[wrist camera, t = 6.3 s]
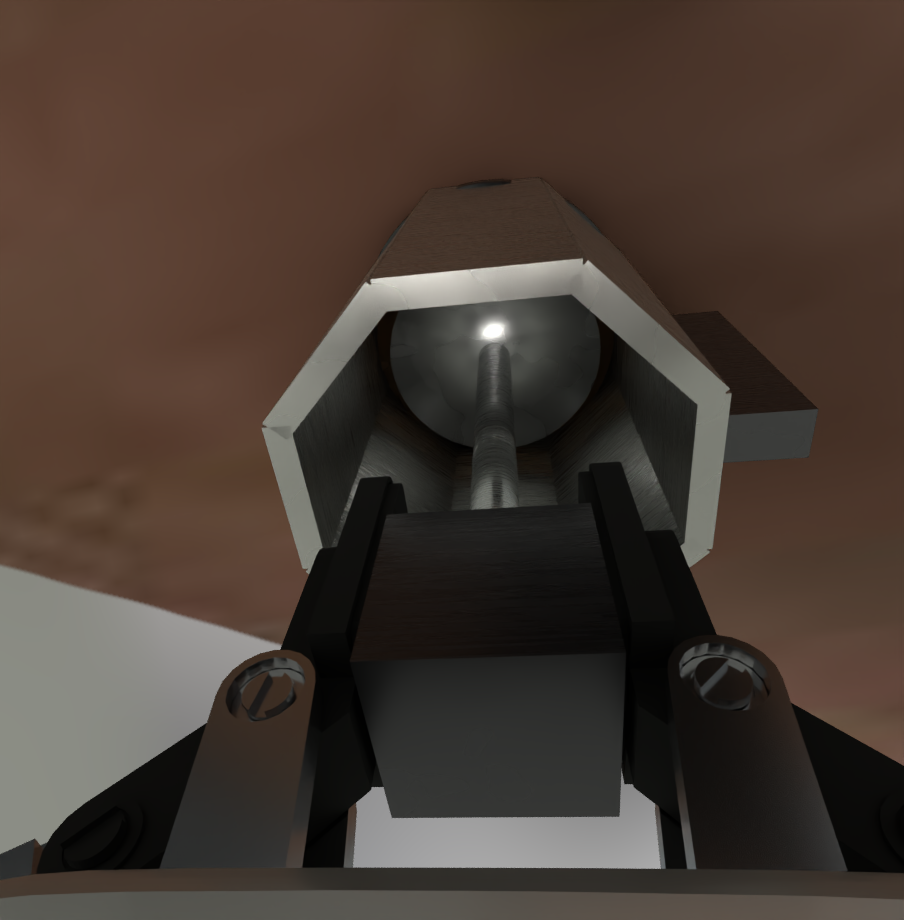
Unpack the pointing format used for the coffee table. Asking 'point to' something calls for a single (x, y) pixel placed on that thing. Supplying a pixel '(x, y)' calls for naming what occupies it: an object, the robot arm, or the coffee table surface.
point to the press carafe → (587, 432)
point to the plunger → (494, 586)
